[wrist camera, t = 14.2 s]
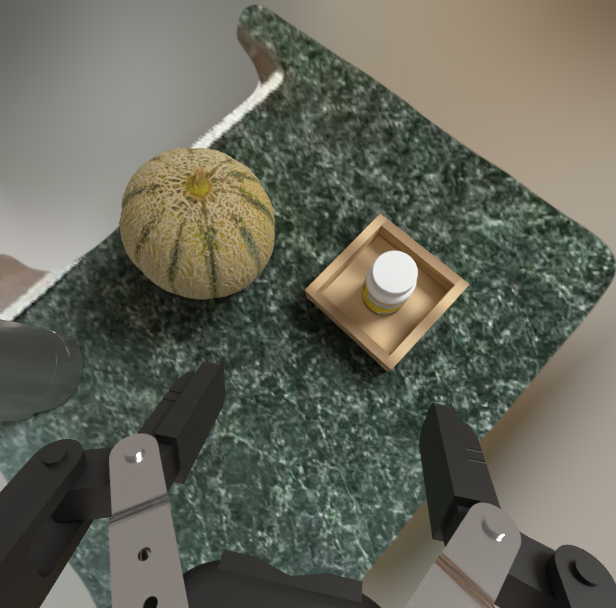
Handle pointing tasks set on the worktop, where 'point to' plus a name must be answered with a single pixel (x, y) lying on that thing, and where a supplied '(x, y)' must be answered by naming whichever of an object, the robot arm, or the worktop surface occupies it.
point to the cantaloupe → (197, 223)
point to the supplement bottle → (389, 283)
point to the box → (413, 314)
